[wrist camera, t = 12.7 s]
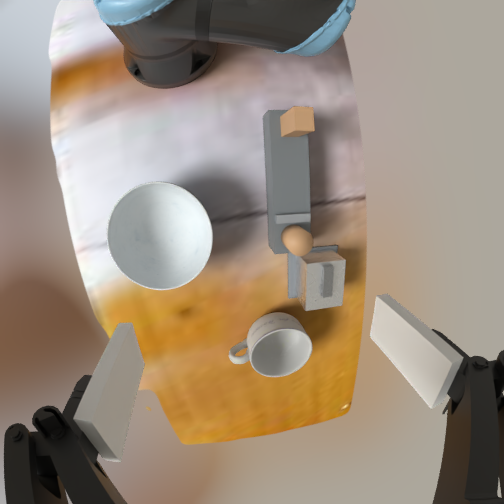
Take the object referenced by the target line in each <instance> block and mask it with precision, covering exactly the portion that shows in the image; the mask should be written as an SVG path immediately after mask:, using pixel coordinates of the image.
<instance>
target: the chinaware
mask: <svg viewBox="0 0 504 504" xmlns="http://www.w3.org/2000/svg"><path fill="white" fill-rule="evenodd" d="M107 243H108V248H109V251H110V254H111V257H112V259H113V261H114V262H115V264H116V266H117V267H118V268H119V270H120V271H121V272H122V273H123V274H124V275H125V276H126V277H127V278H129V279H130V280H131V281H133V282H135V283H136V284H138V285H140V286H143V287H146V288H150V289H155V290H168V289H174V288H177V287H180V286H183V285H185V284H187V283H188V282H190V281H191V280H193V279H194V278H195V277H196V276H197V275H198V274H199V273H200V272H201V271H202V270H203V268H204V267H205V265H206V263H207V261H208V259H209V257H210V254H211V250H212V245H213V231H212V225H211V222H210V219H209V216H208V214H207V212H206V210H205V208H204V207H203V205H202V204H201V202H200V201H199V200H198V199H197V198H196V197H195V196H194V195H193V194H191V193H190V192H189V191H187V190H186V189H184V188H182V187H180V186H178V185H175V184H172V183H167V182H149V183H145V184H141V185H139V186H136V187H134V188H133V189H131V190H129V191H128V192H127V193H125V194H124V195H123V196H122V197H121V198H120V199H119V200H118V202H117V203H116V205H115V206H114V208H113V210H112V212H111V214H110V217H109V220H108V225H107Z"/></svg>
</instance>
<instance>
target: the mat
mask: <svg viewBox="0 0 504 504" xmlns="http://www.w3.org/2000/svg"><path fill="white" fill-rule="evenodd" d="M326 249H332V250H333V251H334V252H336V253H337V249H338V246H337V245H332V246H321V247H312V249H311V251H315V250H326ZM295 288H296V255H294V254H292V253H288V298H297V297H296V295H295Z"/></svg>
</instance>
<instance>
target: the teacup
mask: <svg viewBox="0 0 504 504" xmlns="http://www.w3.org/2000/svg"><path fill="white" fill-rule="evenodd" d="M246 347H248V349H247V351H246V353H245V354H244V355H243V356H235V354H236V353H237V352H239V351H240V350H242V349H244V348H246ZM311 352H312V342H311V339H310V337H309V336H308V335H307V333H306V332H305V330H304V328H303V327H302V325H301V324H300V322H299V321H298V320H297V319H296V318H294V317H293V316H291V315H289V314H287V313H281V312H275V313H270V314H267V315H264V316H262V317H260V318H259V319H258V320H256V321H255V322H254V323H253V325H252V326H251V328H250V329H249V332H248V336H247V338H246V339H244V340H243V341H242V342H240V343H238V344H237V345H235V346H233V347H232V348H231V349H230V351H229V358H230V360H231V361H232V362H233V363H235V364H243V363H246V362H247V361H249V360H250V362H251V365H252V367H253V368H254V370H255V371H257V372H258V373H260V374H261V375H264V376H268V377H281V376H286V375H289V374H291V373H293V372H295V371H297V370H298V369H300V368H301V367H302V366H303V365H304V364H305V363H306V362H307V361H308V359H309V357H310V355H311Z"/></svg>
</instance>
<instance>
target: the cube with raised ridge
mask: <svg viewBox="0 0 504 504" xmlns="http://www.w3.org/2000/svg"><path fill="white" fill-rule="evenodd" d="M345 265H346V260H345V259H344V258H343V257H341V256H340V255H339V254H337V253H336V252H334V251H333V250H332V249H326V250H315V251H310V252H309V253H308V254H306V255H304V256H296V288H295V295H296V297H297V298H298V300H299V302H300V303H301V305H302V306H303V308H304V310H305V311H309V310H316V309H323V308H329V307H335V306H341V305H342V302H343V291H344V279H345Z"/></svg>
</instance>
